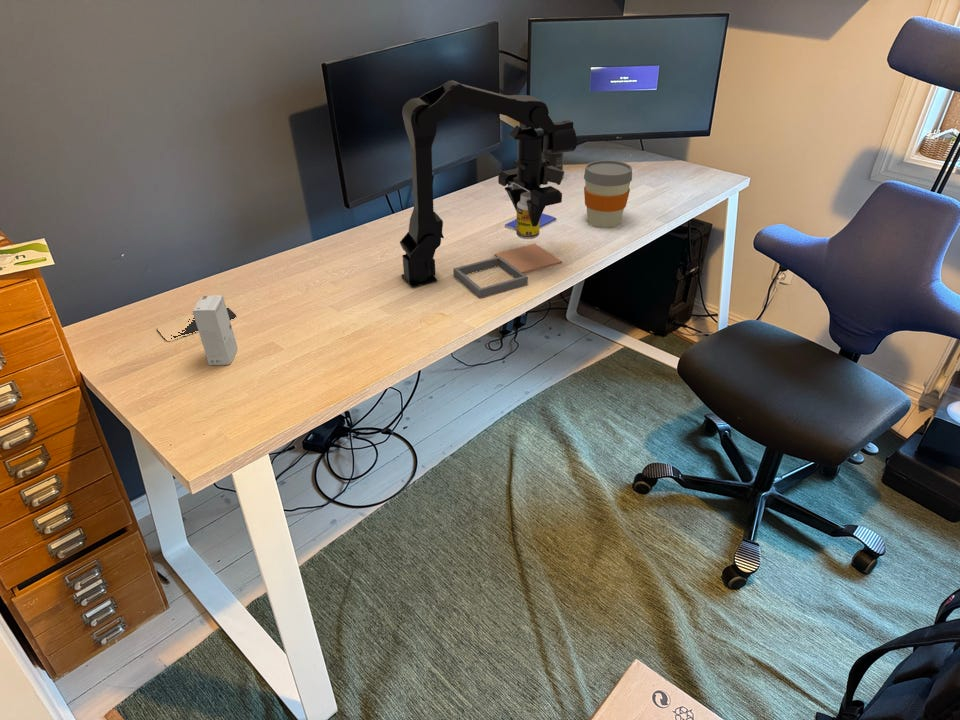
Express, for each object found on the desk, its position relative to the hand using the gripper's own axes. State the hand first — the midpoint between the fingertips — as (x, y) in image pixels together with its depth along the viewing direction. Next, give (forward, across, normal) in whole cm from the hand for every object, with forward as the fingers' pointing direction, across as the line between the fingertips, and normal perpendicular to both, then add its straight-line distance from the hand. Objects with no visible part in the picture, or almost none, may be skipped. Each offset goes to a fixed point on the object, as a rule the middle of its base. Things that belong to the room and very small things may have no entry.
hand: (528, 221), depth 161 cm
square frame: (+10, -5, +13) cm, 17 cm away
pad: (+10, 0, 0) cm, 10 cm away
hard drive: (+10, +18, -13) cm, 25 cm away
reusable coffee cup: (+10, +9, -31) cm, 33 cm away
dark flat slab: (+11, +10, +76) cm, 78 cm away
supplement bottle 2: (+10, +46, -39) cm, 61 cm away
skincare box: (+10, -6, +74) cm, 75 cm away
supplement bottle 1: (+4, 0, 0) cm, 4 cm away
